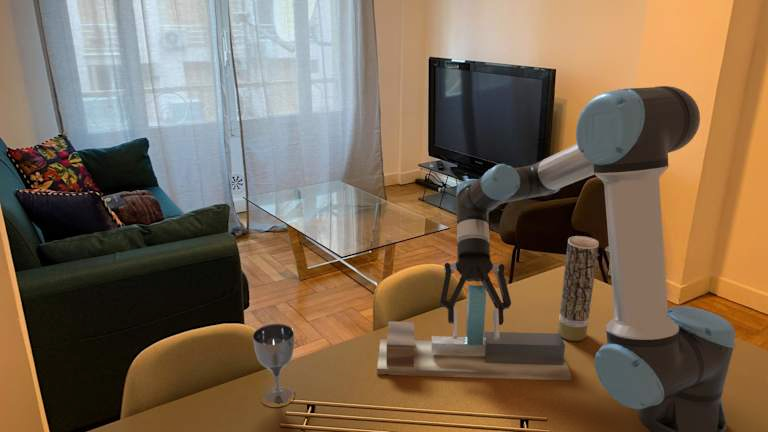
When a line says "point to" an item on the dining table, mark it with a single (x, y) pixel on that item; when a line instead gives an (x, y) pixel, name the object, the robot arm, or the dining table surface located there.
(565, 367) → the birch board
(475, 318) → the sliding bolt
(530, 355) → the steel sleeve
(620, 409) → the dining table surface
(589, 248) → the bark log
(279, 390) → the wine glass
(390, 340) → the walnut socket
